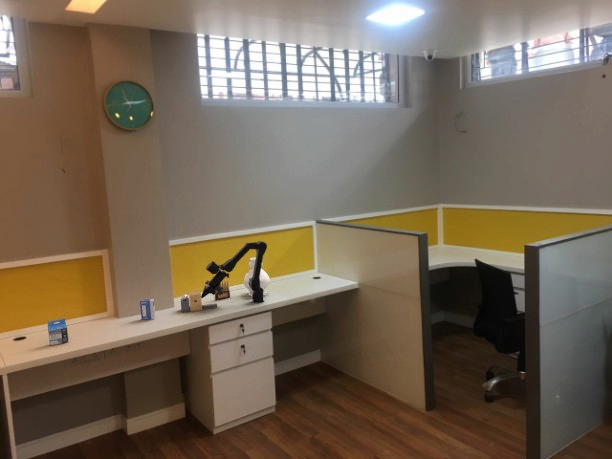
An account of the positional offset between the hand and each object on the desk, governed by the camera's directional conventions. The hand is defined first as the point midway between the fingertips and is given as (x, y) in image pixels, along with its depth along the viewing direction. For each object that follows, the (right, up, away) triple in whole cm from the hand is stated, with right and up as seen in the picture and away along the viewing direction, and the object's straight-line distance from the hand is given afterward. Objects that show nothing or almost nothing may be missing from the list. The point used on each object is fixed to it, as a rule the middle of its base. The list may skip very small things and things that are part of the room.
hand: (201, 297), depth 335 cm
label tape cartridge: (-65, -18, -52) cm, 85 cm away
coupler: (-1, -7, +1) cm, 7 cm away
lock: (-3, -7, 0) cm, 8 cm away
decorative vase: (+32, -2, +30) cm, 44 cm away
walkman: (-29, -11, -16) cm, 34 cm away
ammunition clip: (+10, -4, +22) cm, 25 cm away
